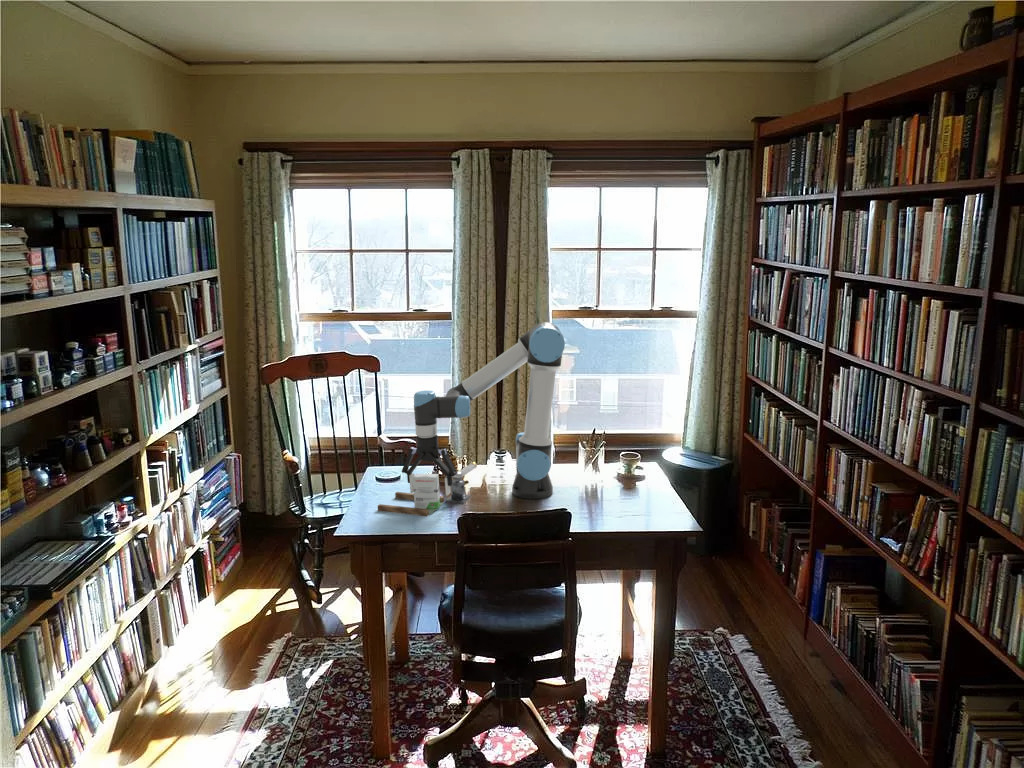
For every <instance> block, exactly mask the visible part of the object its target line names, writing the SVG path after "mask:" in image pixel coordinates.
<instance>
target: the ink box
mask: <svg viewBox="0 0 1024 768" xmlns="http://www.w3.org/2000/svg"><path fill="white" fill-rule="evenodd" d="M439 477H440V476H439V473H415V476H414V477H413V488H414V492H413V493H414V500H413V501H414V502H413V503H414V508H421V509H437V510H438V509H439V508H440V507H441V506H440V496H441V494H440V493H441V492H440V479H439ZM439 506H440V507H439Z"/></svg>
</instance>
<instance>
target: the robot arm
mask: <svg viewBox="0 0 1024 768" xmlns="http://www.w3.org/2000/svg"><path fill="white" fill-rule="evenodd" d="M565 345H566V343H565V338H564V335H563V333H562V332H561V330H560V329H559V327H558V326H557V325H555V324H554V323H552V322H549V321H541V322H538V323H537V324H534V326H533V327H531V328H530V329H529V330H528V331H527V332H525V333H524V334H523V335H522V336H520V337H519V338H518V340H517V343H515V344H514V345H512V346H511V347H510V348H508V349H507V350H506V351H505V350H504V352H502V353H501V354H499V356H497V357H495V358H494V359H493V360H491V361H490V362H488V363H487V364H485V365H484V366H483V367H481V368H480V369H479V370H477V371H476V372H474V373H473V374H472V375H470V376H468V377H467V378H465V379H464V380H463V381H462V382H460V383H459V384H458V385H456V386H452V387H451V388H450V389H449V390H448V391H447V392H446V395H445V396H436V393H435V391H434V390H421V391H417V392H415V393H414V394H413V412H414V423H415V438H416V440H415V442H416V447H414V446H411V447H409V448H408V454H407V457H406V459H405V462H404V464H403V467H402V470H401V472H402V473H403V474H406V479H407V483H408V484H409V493H414V488H413V477H414V476H415V475H416V473H415V472H414V470H415V469H416V468H417V467H418V465H419V464H420V463H421V461H423V462H430V463H431V462H433V463H434V464H435V465H436V466H438V468H439V469H440V471H442V473H443V474H444V475H445V477H444V488H445V496H446V497H447V496H450V495H451V485H452V480H453V478H452V476H454V475H456V474H457V471H458V470H456V467H455V465H454V464H453V462H452V460H451V458H450V456H449V454H448V449H447V448H443V449H440V447H439V437H438V420H437V419H455V418H457V419H458V418H459V419H462V418H467V417H468V418H469V417H470V416H471V413H472V412H471V411H472V410H471V409H472V408H471V402H472V401H473V400H474V399H476V398H477V397H479V396H480V395H482V394H483V393H485V392H486V391H488V389H490V388H491V387H493V386H495V385H496V384H497V383H499V382H501V380H503V379H504V378H506V377H508V376H509V375H510V374H512V373H513V372H515V371H516V370H517V369H519V368H520V367H522V366H523V365H524V364H526V363H527V364H528V365H529V367H530V375H529V383H528V391H527V392H528V395H527V404H526V411H525V418H524V419H525V421H524V431H523V432H519V433H517V434H516V436H515V455H516V456H515V458H516V463H515V464H516V465H515V466H516V474H515V477H514V480H513V483H512V487H511V488H512V489H511V491H512V495H513V496H515V497H516V498H519V499H526V500H537V499H538V500H539V499H544V498H547V497H549V496H551V495H552V494H553V493H554V491H553V490H554V489H553V488H554V487H553V483H552V480H551V477H550V474H549V473H550V470H551V467H552V463H551V462H552V461H551V454H552V446H553V445H552V444H553V441H552V439H550V437H549V433H550V426H551V425H550V424H551V416H552V406H553V398H554V397H553V396H554V392H555V391H554V390H555V380H556V371H557V370H558V369H559V368H560V367H561V366H562V358H563V353H564V350H565V347H566V346H565ZM415 454H417V455H418V456H417V457H416V459H415V460H414V462H413V463H411V462H412V460H413V458H414V456H415ZM439 454H440V456H441V457H442V458H441V457H440V456H439ZM410 465H411V466H410Z"/></svg>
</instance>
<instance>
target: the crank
mask: <svg viewBox="0 0 1024 768" xmlns="http://www.w3.org/2000/svg"><path fill="white" fill-rule="evenodd" d="M477 467H478V465H477V462H475V461H472V463H470V464H468V465H467V466H465V467H463V468H462V469H460V470H456V471H457V474H456V475H454V476H452V480H454V479H462V480H463V477H464V476H466V475H467V474H468V473H470V472H472V471H473V470H474V469H477Z"/></svg>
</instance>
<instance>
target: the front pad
mask: <svg viewBox="0 0 1024 768" xmlns="http://www.w3.org/2000/svg"><path fill="white" fill-rule="evenodd" d="M443 505H444V502H443V503H442V502H440V506H439V508H441V506H443ZM437 510H438V509H429V515H432V514H433V513H434V512H435V511H437Z"/></svg>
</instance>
